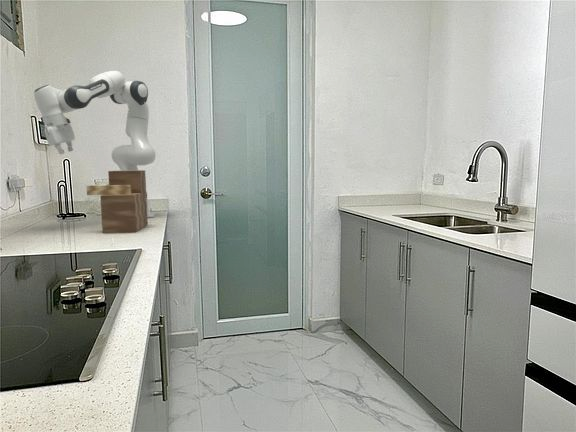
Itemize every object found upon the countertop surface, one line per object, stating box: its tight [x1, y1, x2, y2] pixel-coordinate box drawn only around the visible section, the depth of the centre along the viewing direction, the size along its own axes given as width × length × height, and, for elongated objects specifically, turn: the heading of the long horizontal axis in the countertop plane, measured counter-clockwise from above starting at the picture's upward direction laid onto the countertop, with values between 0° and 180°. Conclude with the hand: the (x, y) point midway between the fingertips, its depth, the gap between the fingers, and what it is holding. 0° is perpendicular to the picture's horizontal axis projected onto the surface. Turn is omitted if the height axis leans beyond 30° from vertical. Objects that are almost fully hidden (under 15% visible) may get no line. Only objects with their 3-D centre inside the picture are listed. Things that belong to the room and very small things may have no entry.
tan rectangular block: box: [85, 184, 131, 196], centre depth 206 cm, size 18×3×4 cm, turn 94°
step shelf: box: [99, 169, 149, 234], centre depth 212 cm, size 23×14×26 cm, turn 4°
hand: (66, 152), depth 215 cm, fingers open, 8 cm apart
